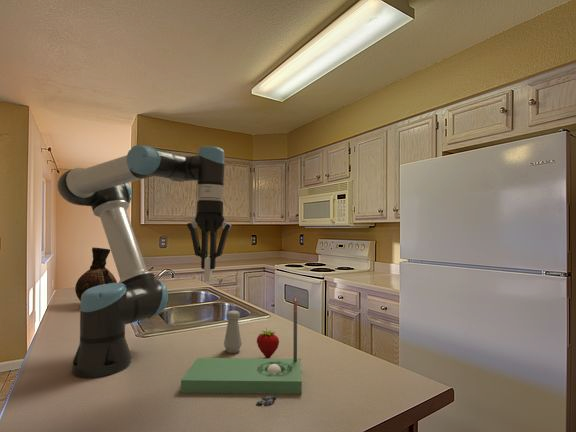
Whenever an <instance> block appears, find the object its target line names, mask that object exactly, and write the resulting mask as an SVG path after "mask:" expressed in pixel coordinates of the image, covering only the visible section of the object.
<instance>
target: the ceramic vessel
mask: <svg viewBox="0 0 576 432" xmlns="http://www.w3.org/2000/svg"><path fill="white" fill-rule="evenodd" d="M91 252H92V262H91V265H90V266H89V269H88V270H86V271H85V272H84V273H83V274H82V275H81V276H80V277H78V279H77V281H76V283H75V289H74V290H75V295H76V297H77V299H78V300H79V302H81V296H82V294H83V293H84V292H85V291H86V290H87V289H89V288H92V287H95V286H98V285H103V284H109V283H118V281H117V279H116V276H114V274H113V273H112V272H111V271H110V270H109V269H108V268H106V266H107V259H108V256H109V254H110V252H111V249H110V248H102V247H94V246H93V247H92V249H91Z"/></svg>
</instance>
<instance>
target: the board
mask: <svg viewBox="0 0 576 432" xmlns="http://www.w3.org/2000/svg"><path fill="white" fill-rule="evenodd" d="M301 363H302V361H301V358H298V296H294V297H293V358H274V357H273V358H272V357H270V358H266V357H265V358H262V357H261V358H257V357H255V358H252V357H251V358H249V357H247V358H246V357H197V358H195V360H194V362H193V363H192V364H191V366H190V367H189V368H188V370H187V371H186V373H185V374H184V376H182V378H181V380H180V393H190V394H191V393H193V394H194V393H197V394H198V393H202V394H205V393H206V394H213V393H214V394H218V393H219V394H282V395H283V394H285V395H286V394H290V395H291V394H294V395H295V394H300V395H301V394H302V393H303V392H302V388H303V387H302V386H303V385H302V381H303V380H302V368H301V367H302V366H301V365H302V364H301ZM272 364H277V365H278V366H279V367H280V368H281V373H268V372H267V368H268V367H269V366H270V365H272Z"/></svg>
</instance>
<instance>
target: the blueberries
mask: <svg viewBox="0 0 576 432" xmlns="http://www.w3.org/2000/svg"><path fill="white" fill-rule="evenodd" d="M261 397H262V398H261V400H260V401H259V400H258V401H257V402H256V404H255V406H256V407H262V408H263V407H269V408H270V407H271V406H272V405H274V403H275V402H276V401H277V398H276V396H275V395H272V396H271V395H267V396H261ZM257 398H260V396H257Z"/></svg>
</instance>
